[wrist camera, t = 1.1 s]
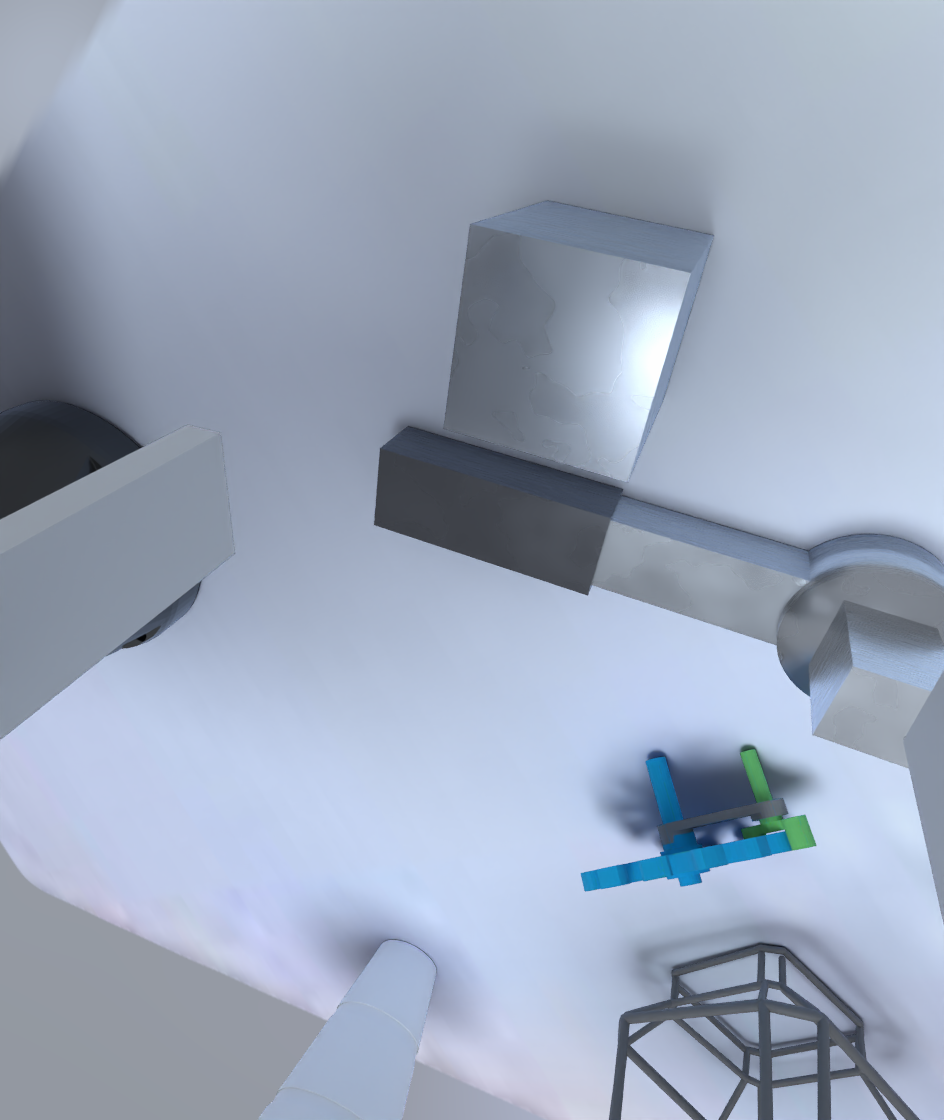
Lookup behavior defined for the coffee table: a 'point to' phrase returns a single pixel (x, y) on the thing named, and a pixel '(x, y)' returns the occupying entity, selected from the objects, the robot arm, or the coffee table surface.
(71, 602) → the robot arm
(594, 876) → the gear
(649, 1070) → the geometric lantern
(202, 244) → the coffee table surface
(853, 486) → the coffee table surface
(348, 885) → the coffee table surface
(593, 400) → the grey rectangular block
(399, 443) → the ratchet
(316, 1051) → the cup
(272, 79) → the coffee table surface
